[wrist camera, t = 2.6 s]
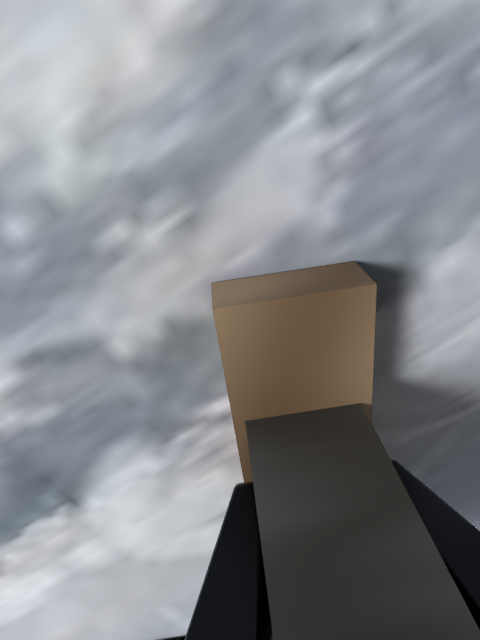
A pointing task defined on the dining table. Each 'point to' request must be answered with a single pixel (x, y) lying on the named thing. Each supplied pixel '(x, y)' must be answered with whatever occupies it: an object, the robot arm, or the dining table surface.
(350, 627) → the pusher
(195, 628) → the robot arm
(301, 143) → the dining table surface
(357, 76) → the dining table surface
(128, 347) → the dining table surface
